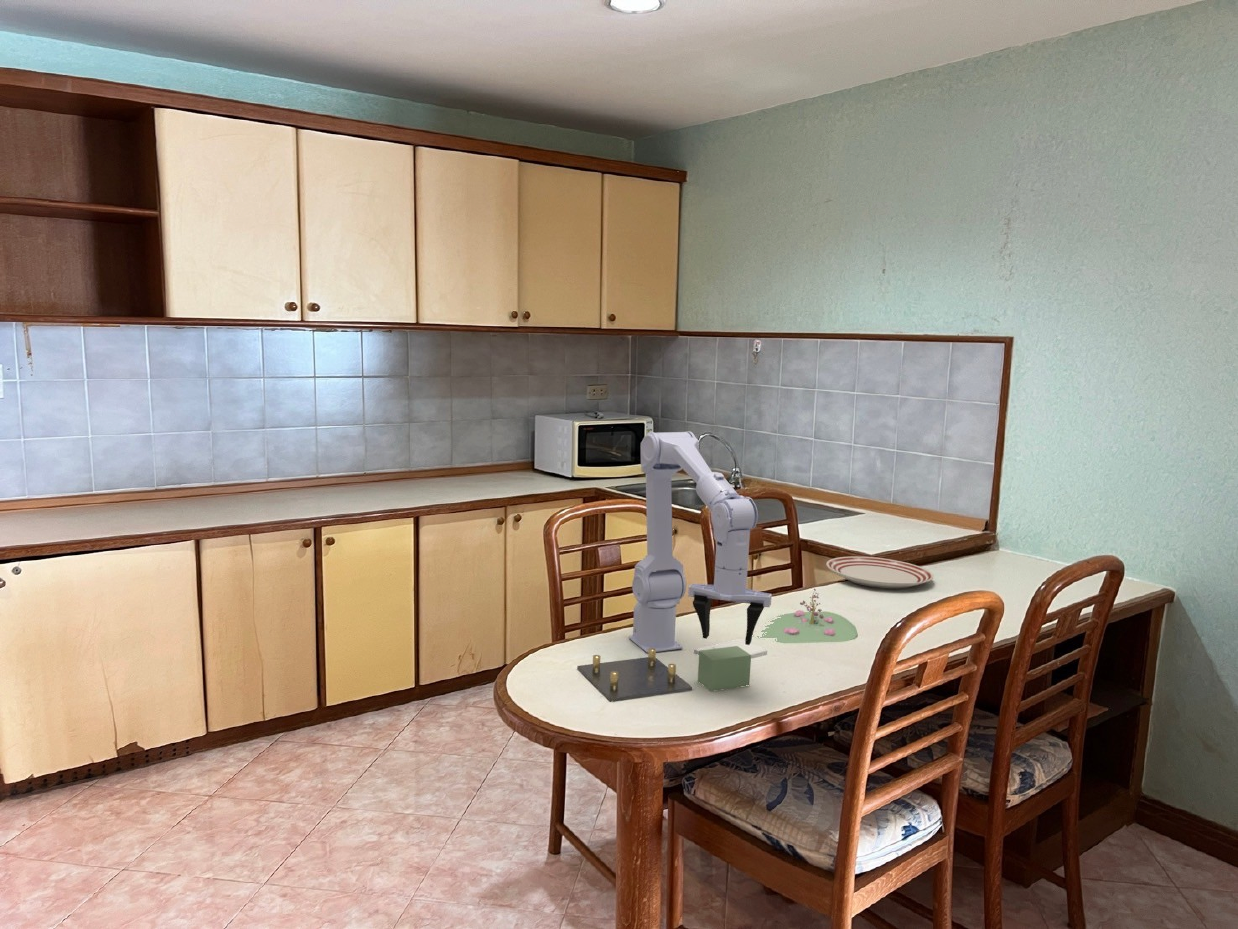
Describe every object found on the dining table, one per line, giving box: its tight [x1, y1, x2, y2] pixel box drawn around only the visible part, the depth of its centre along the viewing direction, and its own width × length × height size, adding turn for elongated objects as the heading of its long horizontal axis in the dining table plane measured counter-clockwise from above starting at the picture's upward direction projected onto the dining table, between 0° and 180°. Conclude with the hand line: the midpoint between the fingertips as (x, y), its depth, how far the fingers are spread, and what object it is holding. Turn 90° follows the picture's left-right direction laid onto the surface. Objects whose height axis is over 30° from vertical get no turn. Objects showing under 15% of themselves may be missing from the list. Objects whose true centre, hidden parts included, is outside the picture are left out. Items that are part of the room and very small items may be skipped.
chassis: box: [576, 648, 693, 703], centre depth 168 cm, size 16×16×4 cm
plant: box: [757, 588, 859, 644], centre depth 199 cm, size 25×21×9 cm
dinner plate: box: [825, 556, 934, 590], centre depth 243 cm, size 27×27×3 cm
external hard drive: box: [693, 638, 768, 659], centre depth 184 cm, size 2×8×12 cm
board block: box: [697, 646, 752, 692], centre depth 168 cm, size 5×8×6 cm, turn 113°
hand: (726, 639), depth 163 cm, fingers open, 7 cm apart
